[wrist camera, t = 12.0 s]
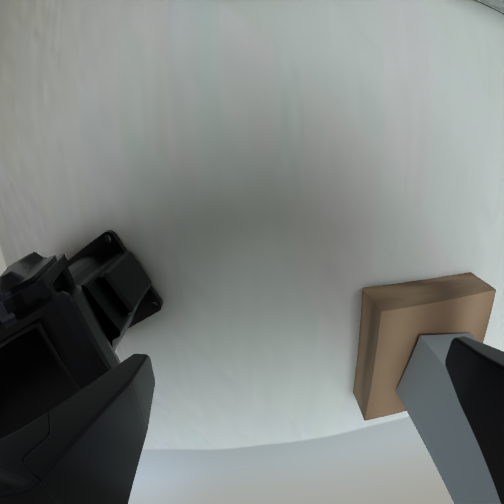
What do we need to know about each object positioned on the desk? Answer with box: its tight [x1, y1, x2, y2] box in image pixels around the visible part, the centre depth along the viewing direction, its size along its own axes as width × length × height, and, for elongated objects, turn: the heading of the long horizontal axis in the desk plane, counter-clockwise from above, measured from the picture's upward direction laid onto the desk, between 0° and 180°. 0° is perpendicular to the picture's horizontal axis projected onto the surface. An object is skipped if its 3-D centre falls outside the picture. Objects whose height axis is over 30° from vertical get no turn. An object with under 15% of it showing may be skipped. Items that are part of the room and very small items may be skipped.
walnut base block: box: [353, 272, 496, 420], centre depth 22 cm, size 10×10×4 cm
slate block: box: [396, 333, 501, 504], centre depth 14 cm, size 5×5×13 cm
